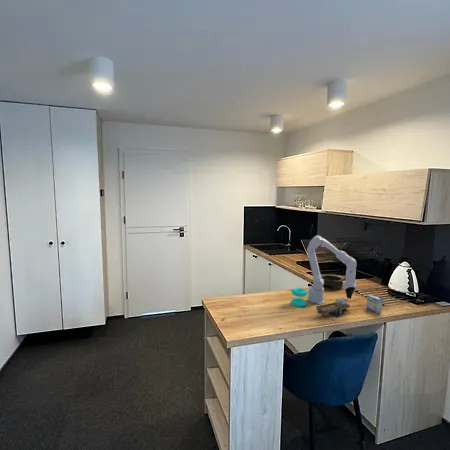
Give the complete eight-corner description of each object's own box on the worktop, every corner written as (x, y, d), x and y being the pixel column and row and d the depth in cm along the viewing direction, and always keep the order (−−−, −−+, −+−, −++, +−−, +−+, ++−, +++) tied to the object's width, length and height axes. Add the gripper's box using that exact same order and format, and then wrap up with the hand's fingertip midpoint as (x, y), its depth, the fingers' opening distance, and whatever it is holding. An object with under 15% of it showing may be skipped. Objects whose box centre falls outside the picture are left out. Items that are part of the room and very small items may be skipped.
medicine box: (366, 308, 194) (367, 295, 192) (371, 307, 195) (372, 294, 194) (376, 313, 186) (377, 299, 185) (381, 312, 188) (382, 298, 187)
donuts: (289, 290, 195) (294, 286, 203) (288, 305, 196) (294, 300, 204) (304, 293, 189) (309, 289, 198) (303, 308, 190) (308, 304, 199)
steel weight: (335, 304, 190) (335, 298, 190) (340, 303, 194) (341, 297, 194) (341, 307, 186) (342, 300, 186) (347, 305, 191) (348, 299, 191)
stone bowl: (347, 292, 224) (347, 280, 223) (312, 290, 232) (312, 278, 231) (346, 282, 247) (346, 271, 246) (314, 281, 255) (313, 270, 254)
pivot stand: (321, 311, 187) (321, 305, 186) (335, 305, 197) (336, 299, 196) (337, 317, 178) (338, 311, 178) (351, 311, 188) (352, 305, 188)
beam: (315, 312, 179) (316, 305, 179) (338, 307, 196) (339, 301, 196) (326, 316, 174) (327, 309, 174) (349, 310, 190) (350, 304, 190)
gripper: (350, 280, 186) (349, 302, 188) (362, 277, 196) (360, 297, 197) (339, 278, 192) (338, 299, 193) (351, 274, 201) (350, 294, 203)
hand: (348, 298), depth 196 cm, fingers closed
